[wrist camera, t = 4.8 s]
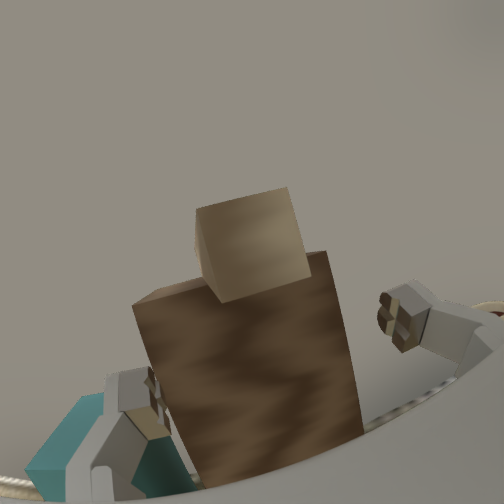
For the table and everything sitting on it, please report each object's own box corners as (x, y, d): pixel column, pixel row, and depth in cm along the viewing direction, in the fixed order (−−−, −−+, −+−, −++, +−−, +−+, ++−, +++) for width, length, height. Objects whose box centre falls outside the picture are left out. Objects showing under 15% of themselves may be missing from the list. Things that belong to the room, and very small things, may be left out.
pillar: (252, 565, 17) (131, 305, 17) (232, 490, 30) (157, 289, 30) (374, 519, 19) (326, 250, 19) (325, 458, 32) (273, 256, 32)
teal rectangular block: (132, 592, 13) (24, 469, 13) (142, 506, 28) (81, 396, 28) (212, 587, 14) (119, 465, 14) (201, 497, 29) (147, 383, 29)
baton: (222, 303, 9) (196, 208, 9) (202, 276, 31) (194, 248, 31) (311, 276, 10) (286, 187, 10) (229, 269, 31) (222, 241, 31)
